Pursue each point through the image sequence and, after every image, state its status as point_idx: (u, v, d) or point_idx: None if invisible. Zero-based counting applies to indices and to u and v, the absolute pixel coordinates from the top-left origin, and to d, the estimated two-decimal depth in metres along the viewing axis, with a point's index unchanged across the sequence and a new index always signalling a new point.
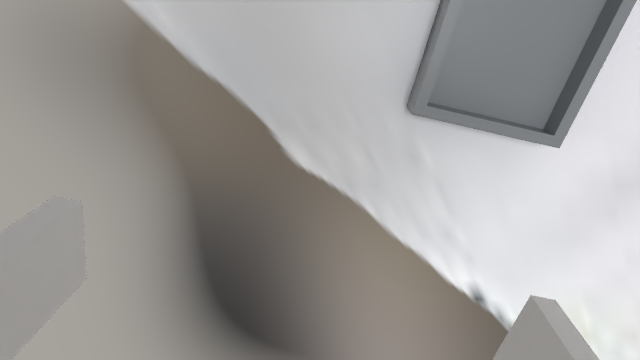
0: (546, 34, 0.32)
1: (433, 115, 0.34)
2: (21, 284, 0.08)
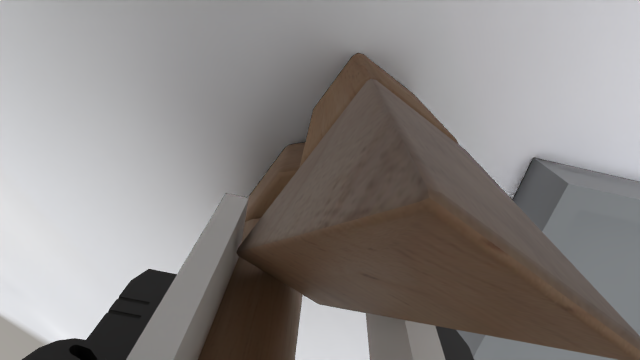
0: None
1: None
2: (226, 263, 0.11)
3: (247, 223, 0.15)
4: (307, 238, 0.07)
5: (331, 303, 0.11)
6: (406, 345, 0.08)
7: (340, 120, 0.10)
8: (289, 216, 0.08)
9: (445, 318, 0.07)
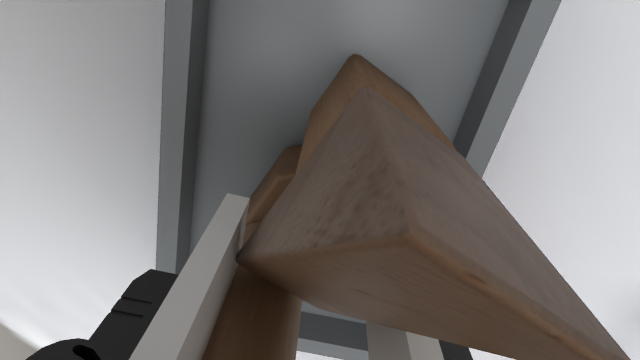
0: None
1: None
2: (228, 263, 0.11)
3: (247, 228, 0.15)
4: (298, 255, 0.06)
5: (330, 309, 0.11)
6: (404, 344, 0.08)
7: (334, 128, 0.10)
8: (283, 229, 0.08)
9: (439, 332, 0.07)
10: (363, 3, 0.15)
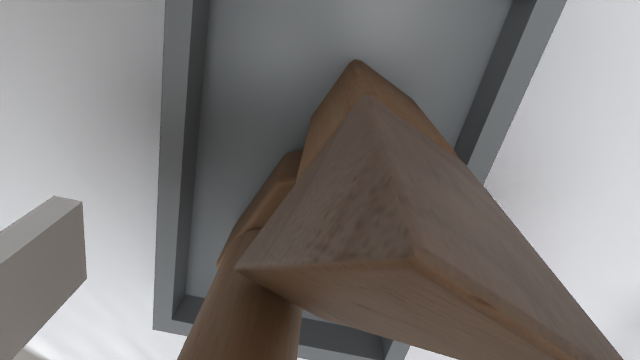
0: None
1: (186, 331, 0.21)
2: (21, 284, 0.08)
3: (246, 234, 0.15)
4: (299, 269, 0.06)
5: (330, 319, 0.11)
6: None
7: (335, 136, 0.09)
8: (283, 240, 0.08)
9: (442, 348, 0.06)
10: (364, 8, 0.15)
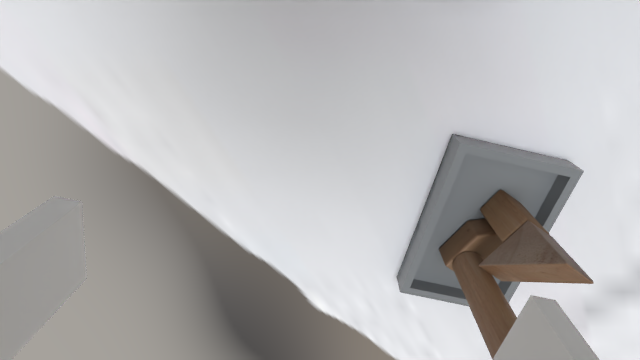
0: None
1: (414, 293, 0.49)
2: (21, 284, 0.08)
3: (465, 254, 0.43)
4: (531, 265, 0.34)
5: (511, 280, 0.39)
6: None
7: (521, 232, 0.37)
8: (517, 259, 0.36)
9: (557, 280, 0.34)
10: (506, 173, 0.43)
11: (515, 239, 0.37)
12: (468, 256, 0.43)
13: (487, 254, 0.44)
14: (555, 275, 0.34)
